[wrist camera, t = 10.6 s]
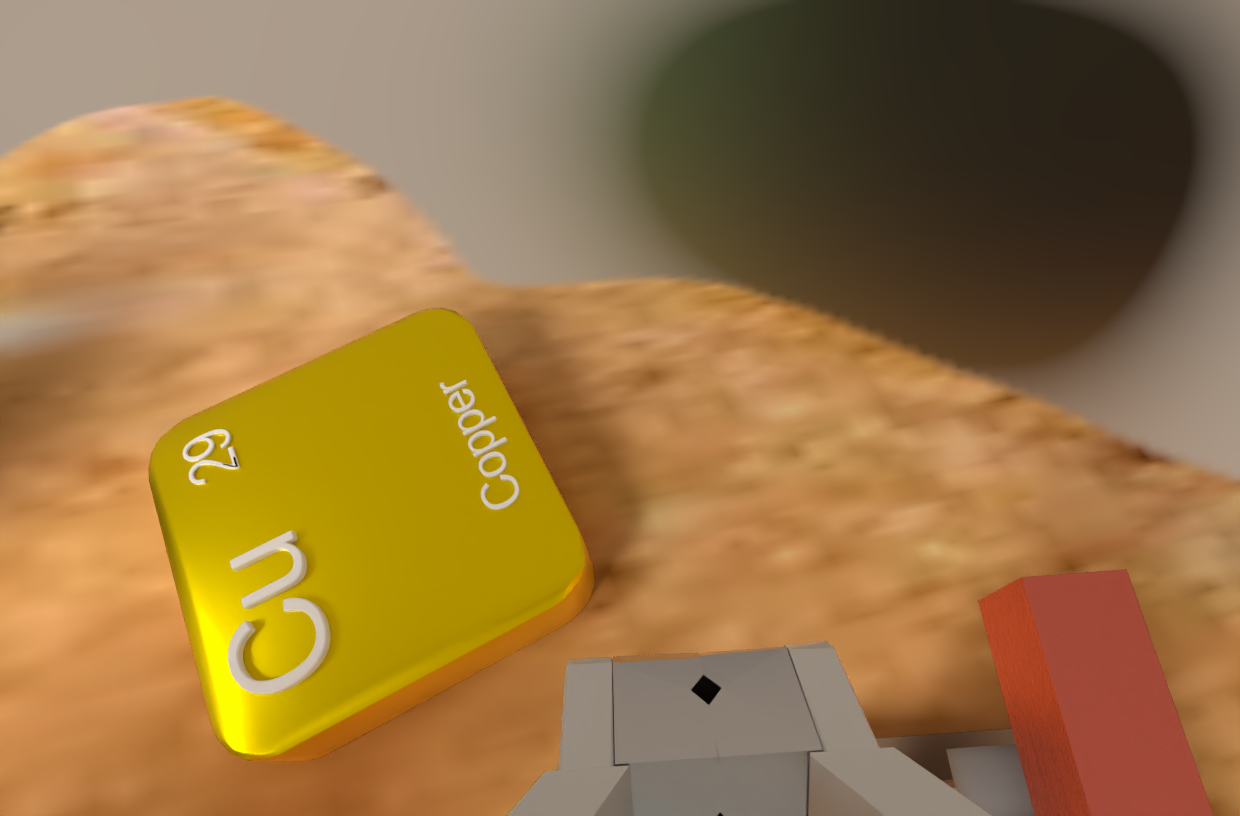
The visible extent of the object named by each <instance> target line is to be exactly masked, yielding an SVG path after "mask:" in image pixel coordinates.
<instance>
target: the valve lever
mask: <svg viewBox="0 0 1240 816" xmlns="http://www.w3.org/2000/svg"><path fill="white" fill-rule="evenodd" d="M978 602H979V606H980V609H981V613H982V617H983V621H984V625H985V628H986V632H987V636H988V640H989V644H990V647H991V651H992V655H993V659H994V663H995V666H996V670H997V674H998V678H999V682H1000V685H1001V689H1002V693H1003V697H1004V701H1005V704H1006V708H1007V712H1008V716H1009V720H1010V723H1011V727H1012V731H1013V735H1014V739H1015V742H1016V746H1017V750H1018V754H1019V758H1020V761H1021V765H1022V769H1023V773H1024V777H1025V780H1026V784H1027V788H1028V792H1029V796H1030V799H1031V803H1032V807H1033V811H1034V815H1035V816H1213V813H1212V810H1211V807H1210V804H1209V802H1208V799H1207V796H1206V793H1205V790H1204V788H1203V785H1202V782H1201V779H1200V776H1199V773H1198V771H1197V768H1196V765H1195V762H1194V759H1193V756H1192V754H1191V751H1190V748H1189V745H1188V742H1187V739H1186V737H1185V734H1184V731H1183V728H1182V725H1181V722H1180V720H1179V717H1178V714H1177V711H1176V708H1175V705H1174V703H1173V700H1172V697H1171V694H1170V691H1169V688H1168V686H1167V683H1166V680H1165V677H1164V674H1163V671H1162V669H1161V666H1160V663H1159V660H1158V657H1157V654H1156V652H1155V649H1154V646H1153V643H1152V640H1151V638H1150V635H1149V632H1148V629H1147V626H1146V623H1145V621H1144V618H1143V615H1142V612H1141V609H1140V606H1139V604H1138V601H1137V598H1136V595H1135V592H1134V589H1133V587H1132V584H1131V581H1130V578H1129V575H1128V572H1127V570H1126V569H1125V570H1112V571H1099V572H1086V573H1072V574H1059V575H1046V576H1033V577H1021V578H1019V579H1018V580H1016V581H1014V582H1012V583H1010V584H1008V585H1007V586H1005V587H1003V588H1001V589H999V590H997V591H996V592H994V593H992V594H990V595H988V596H986V597H985V598H983V599H981V600H979V601H978Z"/></svg>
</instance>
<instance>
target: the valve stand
mask: <svg viewBox="0 0 1240 816" xmlns="http://www.w3.org/2000/svg"><path fill="white" fill-rule="evenodd" d="M876 740H877V743H878V745H879V747H880V748H890V747H894V748H896V749H897V750H899V751H900V752H902V753H903V754H904V755H906V756H907V757H909V758H910V759H912V760H913V761H914V762H916V763H917V764H919V765H920V766H922V767H923V768H924V769H926V770H927V771H929V772H930V773H932V774H933V775H934V776H936V777H937V778H939V779H940V780H942V781H943V782H944V783H946V784H947V785H949V786H950V787H952V788H953V789H954V790H956V791H957V792H959V793H960V794H962V795H963V796H964V797H966V798H967V799H969V800H970V801H972V802H973V803H975V804H976V805H977V806H979V807H980V808H982V809H983V810H985V811H986V812H987V813H989V814H990V815H992V816H1035V815H1034V811H1033V807H1032V803H1031V799H1030V796H1029V792H1028V788H1027V784H1026V780H1025V777H1024V773H1023V769H1022V765H1021V761H1020V758H1019V754H1018V750H1017V746H1016V742H1015V739H1014V735H1013V731H1012V729H998V730H985V731H971V732H958V733H944V734H931V735H917V736H904V737H890V738H877V739H876Z"/></svg>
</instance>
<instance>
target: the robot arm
mask: <svg viewBox="0 0 1240 816" xmlns="http://www.w3.org/2000/svg"><path fill="white" fill-rule="evenodd" d="M507 816H992V815H990V814H989V813H987V812H986V811H985V810H983V809H982V808H980V807H979V806H977V805H976V804H975V803H973V802H972V801H970V800H969V799H967V798H966V797H964V796H963V795H962V794H960V793H959V792H957V791H956V790H954V789H953V788H952V787H950V786H949V785H947V784H946V783H944V782H943V781H942V780H940V779H939V778H937V777H936V776H934V775H933V774H932V773H930V772H929V771H927V770H926V769H924V768H923V767H922V766H920V765H919V764H917V763H916V762H914V761H913V760H912V759H910V758H909V757H907V756H906V755H904V754H903V753H902V752H900V751H899V750H897V749H896V748H894V747H890V748H880V747H879V745H878V743H877V740H876V738H875V736H874V734H873V732H872V729H871V727H870V725H869V723H868V721H867V719H866V716H865V714H864V712H863V710H862V708H861V705H860V703H859V701H858V699H857V697H856V694H855V692H854V690H853V688H852V686H851V683H850V681H849V679H848V677H847V675H846V672H845V670H844V668H843V666H842V664H841V661H840V659H839V657H838V655H837V653H836V650H835V648H834V646H833V645H831V644H830V643H829V642H828V641H824V642H814V643H803V644H793V645H784V647H774V648H760V649H747V650H734V651H720V652H707V653H680V654H659V655H637V656H616V657H613V660H612V658H610V657H604V658H587V659H570V660H569V661H568V663H567V666H566V670H565V684H564V698H563V711H562V725H561V739H560V753H559V767H558V770H556V771H545V772H544V773H543V774H542V775H541V776H540V777H539V778H538V780H537V781H536V782H535V783H534V784H533V785H532V787H531V788H530V789H529V790H528V791H527V792H526V794H525V795H524V796H523V797H522V798H521V799H520V801H519V802H518V803H517V804H516V805H515V806H514V808H513V809H512V810H511V811H510V812H509V813H508V815H507Z"/></svg>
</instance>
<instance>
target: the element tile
mask: <svg viewBox="0 0 1240 816" xmlns="http://www.w3.org/2000/svg"><path fill="white" fill-rule="evenodd" d="M148 471H149V483H150V487H151V491H152V495H153V499H154V503H155V507H156V510H157V514H158V518H159V522H160V526H161V530H162V534H163V538H164V542H165V546H166V550H167V554H168V558H169V561H170V565H171V569H172V573H173V577H174V581H175V585H176V589H177V593H178V597H179V601H180V605H181V609H182V613H183V616H184V620H185V624H186V628H187V632H188V636H189V640H190V644H191V648H192V652H193V656H194V660H195V664H196V667H197V671H198V675H199V679H200V683H201V687H202V691H203V695H204V699H205V703H206V707H207V711H208V715H209V719H210V722H211V725H212V727H213V730H214V732H215V734H216V736H217V739H218V740H219V741H220V742H221V743H222V744H223V746H224V747H225V748H226V749H227V750H228V751H229V752H230V753H231V754H232V755H235V756H237V757H240V758H243V759H245V760H248V761H302V760H313V759H316V758H320V757H323V756H325V755H327V754H329V753H330V752H332V751H334V750H336V749H338V748H340V747H341V746H343V745H345V744H347V743H349V742H351V741H353V740H354V739H356V738H358V737H360V736H362V735H364V734H365V733H367V732H369V731H371V730H373V729H375V728H376V727H378V726H380V725H382V724H384V723H386V722H387V721H389V720H391V719H393V718H395V717H397V716H398V715H400V714H402V713H404V712H406V711H408V710H409V709H411V708H413V707H415V706H417V705H419V704H420V703H422V702H424V701H426V700H428V699H430V698H431V697H433V696H435V695H437V694H439V693H441V692H442V691H444V690H446V689H448V688H450V687H452V686H453V685H455V684H457V683H459V682H461V681H463V680H464V679H466V678H468V677H470V676H472V675H474V674H475V673H477V672H479V671H481V670H483V669H485V668H486V667H488V666H490V665H492V664H494V663H496V662H497V661H499V660H501V659H503V658H505V657H507V656H508V655H510V654H512V653H514V652H516V651H518V650H520V649H521V648H523V647H525V646H527V645H529V644H531V643H532V642H534V641H536V640H538V639H540V638H542V637H543V636H545V635H547V634H549V633H551V632H553V631H554V630H556V629H558V628H560V627H562V626H564V625H565V624H567V623H568V622H570V621H571V620H572V619H573V618H575V617H576V616H577V615H578V614H579V613H580V612H581V611H582V609H583V608H584V607H585V606H586V604H587V603H588V602H589V601H590V598H591V595H592V591H593V588H594V585H595V582H594V567H593V564H592V561H591V558H590V555H589V553H588V550H587V548H586V545H585V543H584V540H583V538H582V535H581V533H580V530H579V528H578V526H577V524H576V523H575V521H574V519H573V517H572V515H571V513H570V511H569V509H568V507H567V505H566V503H565V501H564V499H563V497H562V496H561V494H560V492H559V490H558V488H557V486H556V484H555V482H554V480H553V478H552V476H551V474H550V472H549V470H548V469H547V467H546V465H545V463H544V461H543V459H542V457H541V455H540V453H539V451H538V449H537V447H536V445H535V443H534V442H533V440H532V438H531V436H530V434H529V432H528V430H527V428H526V426H525V424H524V422H523V420H522V418H521V416H520V415H519V413H518V411H517V409H516V407H515V405H514V403H513V401H512V399H511V397H510V395H509V393H508V391H507V389H506V388H505V386H504V384H503V382H502V380H501V378H500V376H499V374H498V372H497V370H496V368H495V366H494V364H493V362H492V361H491V359H490V357H489V355H488V353H487V351H486V349H485V347H484V345H483V343H482V341H481V339H480V337H479V335H478V334H477V332H476V330H475V328H474V327H473V326H472V325H471V323H470V322H469V321H468V320H467V319H466V318H464V317H463V316H461V315H460V314H459V313H457V312H456V311H453V310H448V309H444V308H436V309H426V310H422V311H419V312H416V313H413V314H411V315H409V316H406V317H404V318H402V319H400V320H398V321H396V322H393V323H391V324H389V325H387V326H385V327H383V328H380V329H378V330H376V331H374V332H372V333H370V334H367V335H365V336H363V337H361V338H359V339H357V340H354V341H352V342H350V343H348V344H346V345H344V346H341V347H339V348H337V349H335V350H333V351H331V352H328V353H326V354H324V355H322V356H320V357H318V358H315V359H313V360H311V361H309V362H307V363H305V364H303V365H300V366H298V367H296V368H294V369H292V370H290V371H287V372H285V373H283V374H281V375H279V376H277V377H274V378H272V379H270V380H268V381H266V382H264V383H261V384H259V385H257V386H255V387H253V388H251V389H248V390H246V391H244V392H242V393H240V394H238V395H235V396H233V397H231V398H229V399H227V400H225V401H222V402H220V403H218V404H216V405H214V406H212V407H209V408H207V409H205V410H203V411H201V412H199V413H196V414H194V415H192V416H190V417H188V418H186V419H183V420H182V421H180V422H179V423H177V424H176V425H175V426H173V427H172V428H171V429H170V430H169V431H168V432H167V433H166V434H164V435H163V436H162V437H161V438H160V440H159V441H158V442H157V443H156V445H155V448H154V450H153V451H152V453H151V458H150V463H149V468H148Z"/></svg>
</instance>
